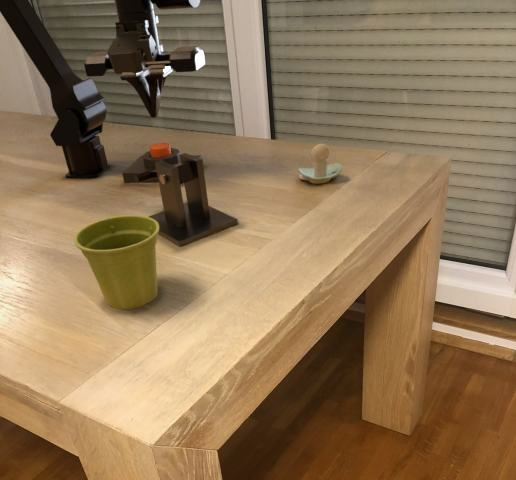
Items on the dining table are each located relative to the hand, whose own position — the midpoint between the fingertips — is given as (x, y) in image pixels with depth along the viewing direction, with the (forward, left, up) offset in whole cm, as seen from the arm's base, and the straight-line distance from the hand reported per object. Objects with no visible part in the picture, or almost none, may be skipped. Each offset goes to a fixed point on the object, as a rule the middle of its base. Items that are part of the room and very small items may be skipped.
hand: (154, 117), depth 96 cm
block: (0, 0, -10) cm, 10 cm away
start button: (0, 0, -6) cm, 7 cm away
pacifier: (+28, -2, -10) cm, 30 cm away
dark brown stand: (+11, -21, -10) cm, 26 cm away
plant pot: (+10, -41, -10) cm, 44 cm away
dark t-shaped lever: (+8, -19, -4) cm, 21 cm away
